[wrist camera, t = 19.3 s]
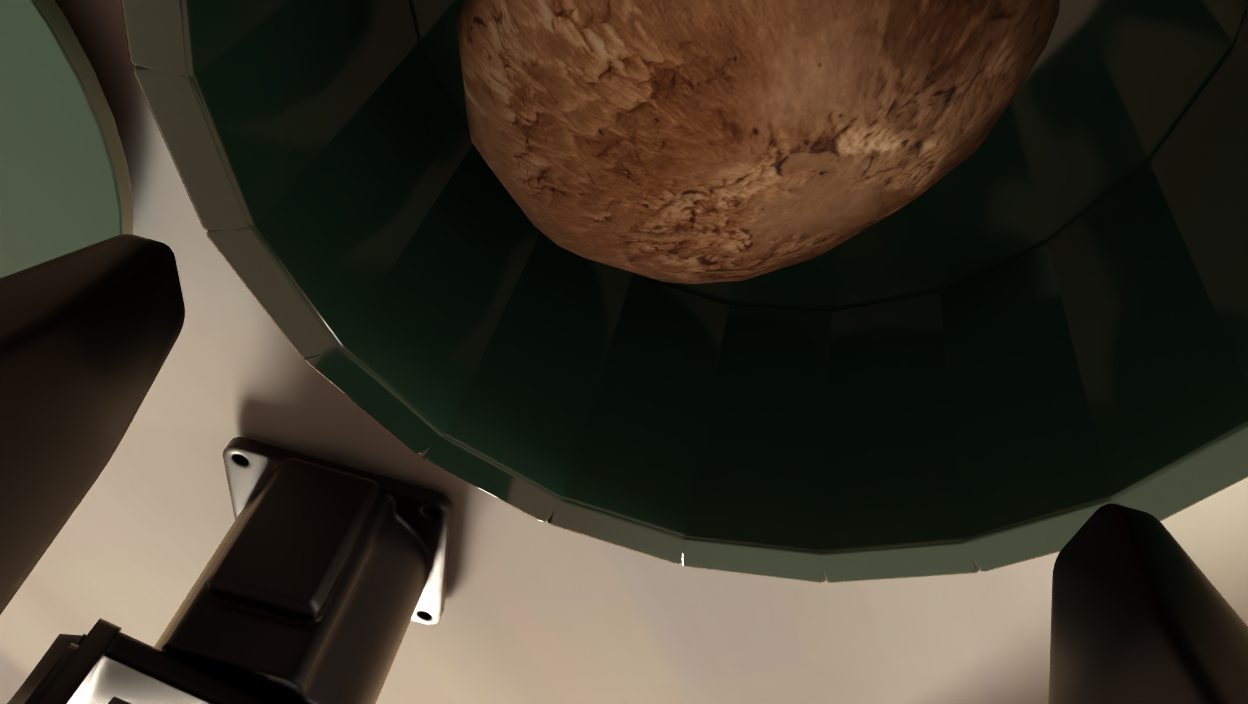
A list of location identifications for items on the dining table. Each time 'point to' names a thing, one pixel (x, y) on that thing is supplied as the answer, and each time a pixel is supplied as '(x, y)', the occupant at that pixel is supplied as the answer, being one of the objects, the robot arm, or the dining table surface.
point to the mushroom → (733, 118)
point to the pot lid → (54, 142)
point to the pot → (752, 298)
